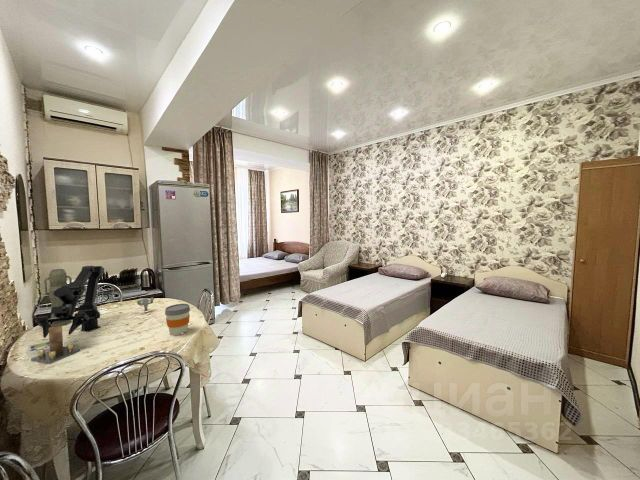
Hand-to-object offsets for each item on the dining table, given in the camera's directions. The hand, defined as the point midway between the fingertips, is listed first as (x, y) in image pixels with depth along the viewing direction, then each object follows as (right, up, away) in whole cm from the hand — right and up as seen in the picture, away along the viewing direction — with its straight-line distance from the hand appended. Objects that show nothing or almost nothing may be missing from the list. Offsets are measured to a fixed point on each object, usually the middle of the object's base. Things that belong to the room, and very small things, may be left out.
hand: (56, 335), depth 122 cm
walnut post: (0, -8, -1) cm, 8 cm away
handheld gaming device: (-17, -9, +8) cm, 21 cm away
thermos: (-37, -7, +38) cm, 54 cm away
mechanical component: (+4, -6, +57) cm, 58 cm away
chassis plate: (0, -9, -1) cm, 9 cm away
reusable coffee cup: (+45, -7, +25) cm, 52 cm away
